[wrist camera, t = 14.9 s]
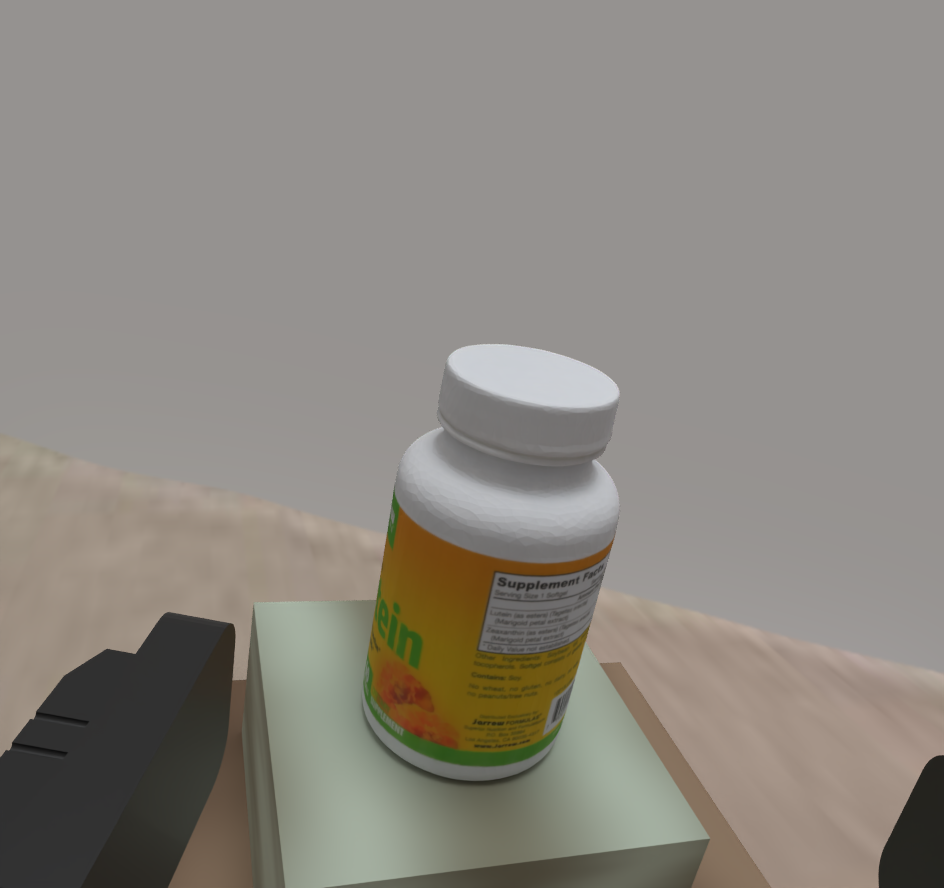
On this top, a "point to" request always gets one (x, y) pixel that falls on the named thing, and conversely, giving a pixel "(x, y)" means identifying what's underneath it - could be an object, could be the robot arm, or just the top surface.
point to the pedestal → (441, 787)
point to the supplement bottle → (493, 563)
